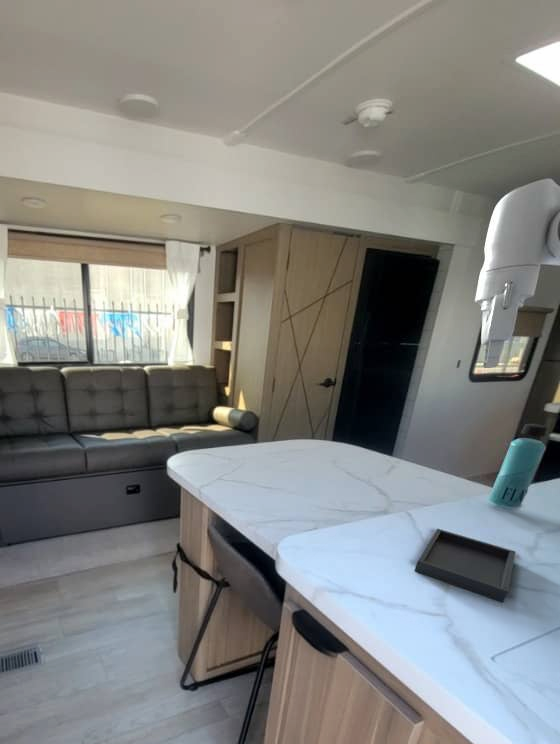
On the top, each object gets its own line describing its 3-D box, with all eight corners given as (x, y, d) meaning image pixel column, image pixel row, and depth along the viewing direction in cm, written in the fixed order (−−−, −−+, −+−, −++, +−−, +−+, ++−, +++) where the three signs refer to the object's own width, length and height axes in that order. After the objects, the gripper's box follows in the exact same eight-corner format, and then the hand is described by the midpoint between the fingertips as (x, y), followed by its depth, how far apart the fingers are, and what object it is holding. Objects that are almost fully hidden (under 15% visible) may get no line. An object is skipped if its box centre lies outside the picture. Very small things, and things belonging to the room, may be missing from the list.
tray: (434, 537, 82) (437, 528, 81) (511, 561, 74) (515, 551, 74) (414, 571, 70) (417, 560, 69) (502, 602, 63) (508, 591, 62)
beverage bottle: (492, 511, 94) (527, 426, 86) (480, 500, 100) (512, 420, 92) (524, 515, 93) (563, 429, 84) (510, 504, 99) (545, 422, 90)
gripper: (536, 275, 66) (516, 366, 70) (520, 295, 82) (504, 367, 86) (487, 281, 69) (471, 367, 73) (481, 299, 85) (468, 368, 90)
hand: (489, 367), depth 80 cm, fingers open, 8 cm apart
